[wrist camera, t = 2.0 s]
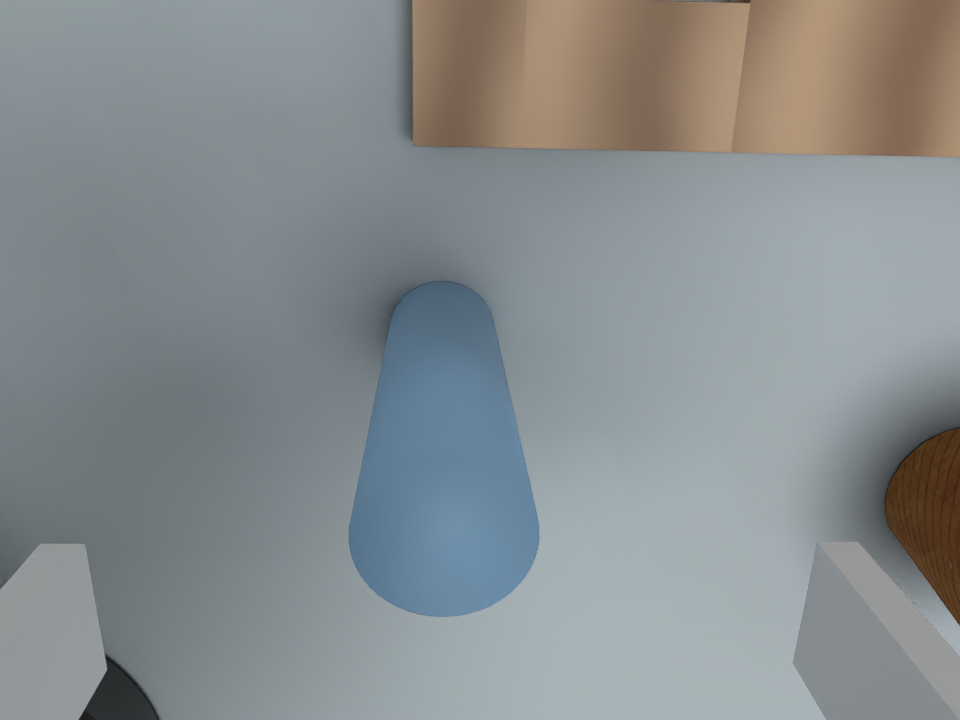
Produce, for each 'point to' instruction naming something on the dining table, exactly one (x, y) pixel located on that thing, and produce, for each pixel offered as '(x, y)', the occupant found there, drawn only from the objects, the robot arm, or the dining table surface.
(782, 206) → the dining table surface
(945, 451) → the disposable coffee cup
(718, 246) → the dining table surface
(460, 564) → the peg
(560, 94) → the keyhole board
